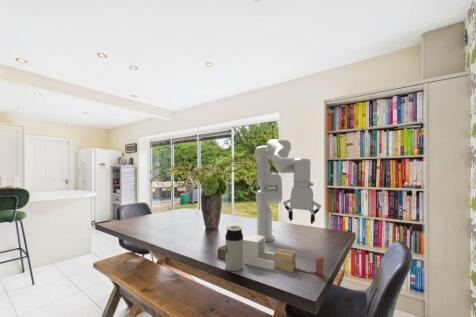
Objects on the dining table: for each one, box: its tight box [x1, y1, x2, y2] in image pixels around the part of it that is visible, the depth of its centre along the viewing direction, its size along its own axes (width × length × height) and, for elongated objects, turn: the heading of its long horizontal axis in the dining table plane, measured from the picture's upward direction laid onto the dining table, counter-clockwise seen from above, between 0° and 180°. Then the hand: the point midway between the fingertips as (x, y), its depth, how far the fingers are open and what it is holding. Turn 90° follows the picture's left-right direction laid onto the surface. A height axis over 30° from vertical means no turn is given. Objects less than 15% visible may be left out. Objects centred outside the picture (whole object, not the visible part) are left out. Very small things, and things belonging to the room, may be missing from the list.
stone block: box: [216, 244, 225, 260], centre depth 113 cm, size 6×12×5 cm, turn 49°
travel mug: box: [224, 225, 244, 272], centre depth 102 cm, size 8×8×18 cm
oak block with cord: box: [274, 248, 325, 278], centre depth 100 cm, size 6×20×7 cm, turn 61°
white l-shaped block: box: [243, 233, 275, 271], centre depth 108 cm, size 10×15×11 cm
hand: (301, 221), depth 105 cm, fingers open, 9 cm apart
